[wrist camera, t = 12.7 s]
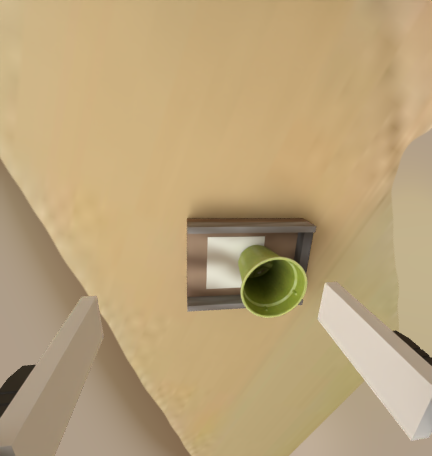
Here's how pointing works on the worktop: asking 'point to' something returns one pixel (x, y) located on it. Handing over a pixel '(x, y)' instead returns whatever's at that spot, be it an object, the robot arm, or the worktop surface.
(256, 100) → the worktop surface
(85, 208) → the worktop surface
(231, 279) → the dock
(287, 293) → the plant pot
